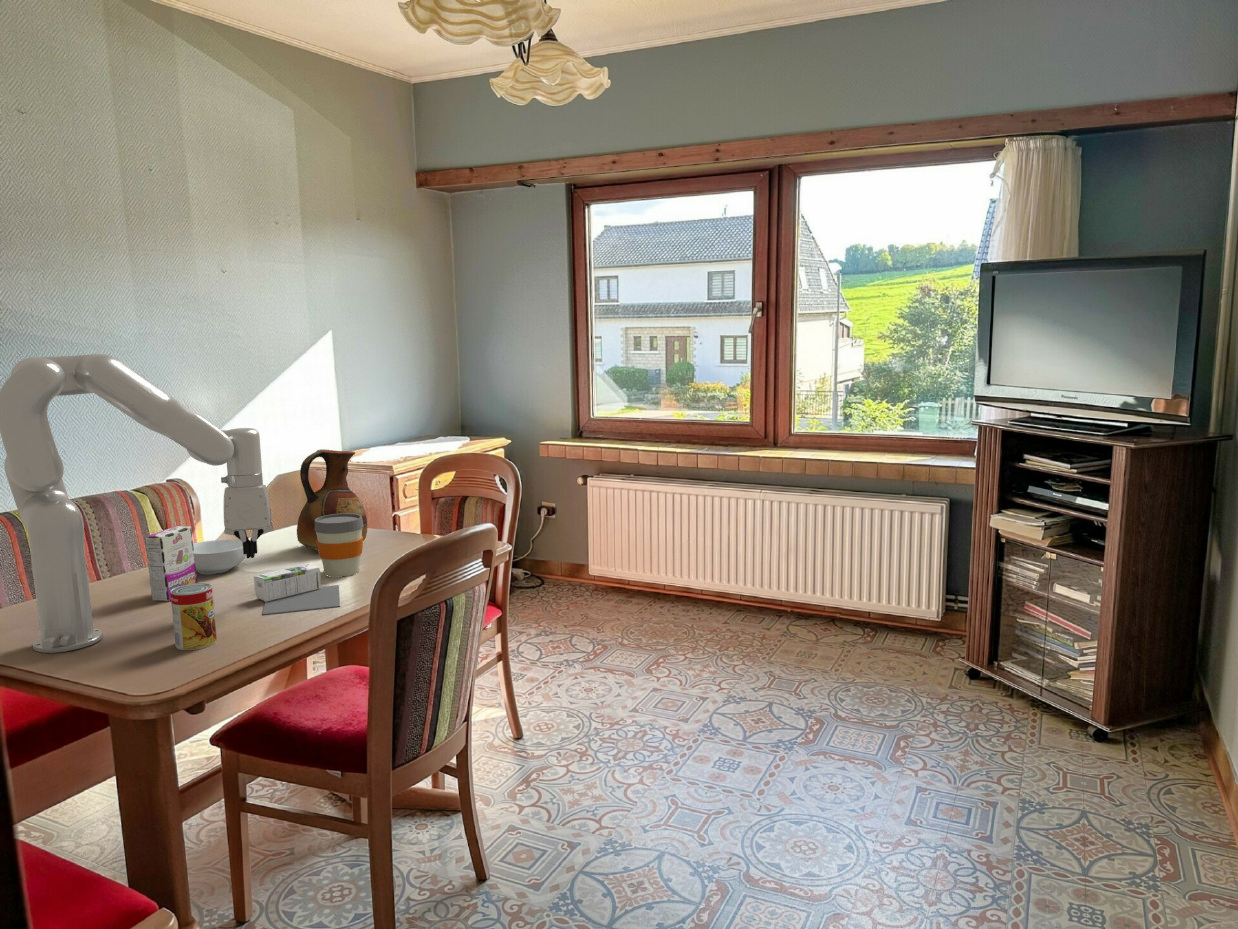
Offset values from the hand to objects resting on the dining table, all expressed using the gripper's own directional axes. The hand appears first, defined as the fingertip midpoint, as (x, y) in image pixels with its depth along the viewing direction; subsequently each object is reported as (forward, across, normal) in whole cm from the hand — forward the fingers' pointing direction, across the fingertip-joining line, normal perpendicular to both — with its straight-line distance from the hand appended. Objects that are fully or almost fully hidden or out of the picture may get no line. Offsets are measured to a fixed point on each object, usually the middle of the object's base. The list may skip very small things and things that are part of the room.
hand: (250, 556), depth 210 cm
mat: (+12, +11, -1) cm, 16 cm away
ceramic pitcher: (+11, +18, +50) cm, 55 cm away
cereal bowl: (+12, -13, +36) cm, 40 cm away
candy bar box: (+12, -20, +15) cm, 27 cm away
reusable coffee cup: (+12, +20, +21) cm, 32 cm away
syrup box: (+8, +1, +1) cm, 9 cm away
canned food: (+12, -9, -25) cm, 29 cm away
